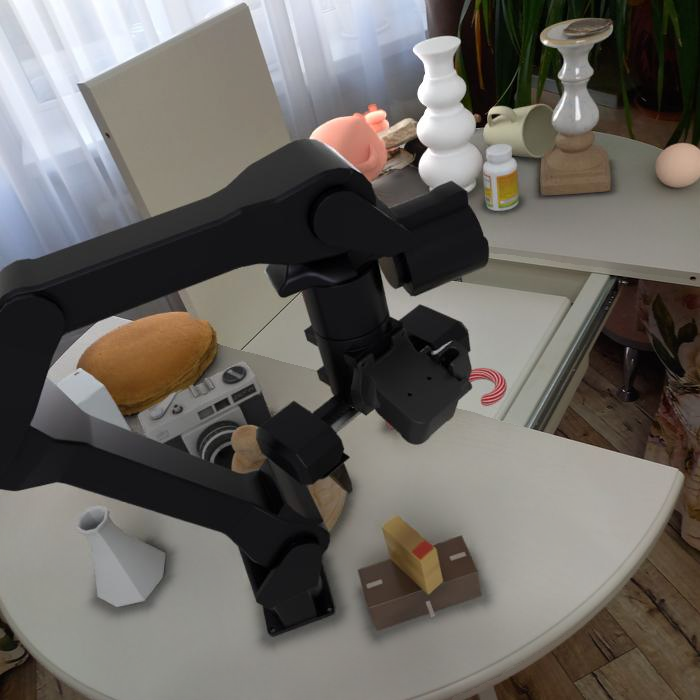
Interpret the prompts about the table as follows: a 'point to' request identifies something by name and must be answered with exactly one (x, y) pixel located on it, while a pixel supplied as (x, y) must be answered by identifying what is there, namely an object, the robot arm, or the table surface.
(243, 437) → the statue
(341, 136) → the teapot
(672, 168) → the egg
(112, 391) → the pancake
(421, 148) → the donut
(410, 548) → the tan flat block
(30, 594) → the table surface
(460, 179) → the vase
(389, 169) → the driftwood
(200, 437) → the camera
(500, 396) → the candy cane
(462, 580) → the miniature drawer cabinet
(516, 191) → the supplement bottle
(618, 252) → the table surface
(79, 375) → the cosmetic box
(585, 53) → the candle holder
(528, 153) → the mug
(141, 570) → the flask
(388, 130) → the decorative stone
